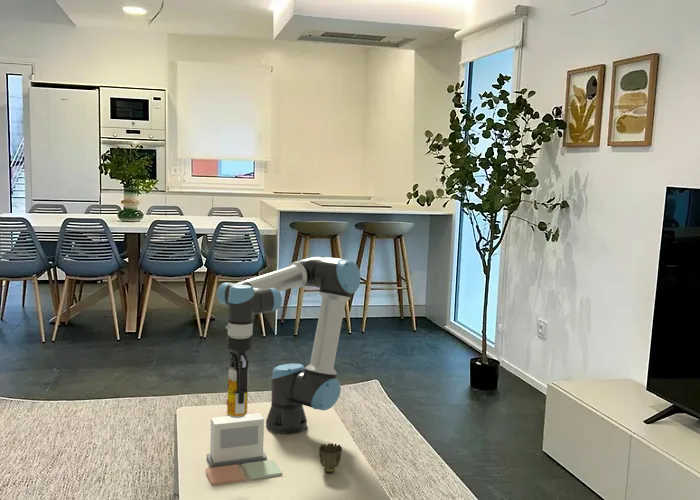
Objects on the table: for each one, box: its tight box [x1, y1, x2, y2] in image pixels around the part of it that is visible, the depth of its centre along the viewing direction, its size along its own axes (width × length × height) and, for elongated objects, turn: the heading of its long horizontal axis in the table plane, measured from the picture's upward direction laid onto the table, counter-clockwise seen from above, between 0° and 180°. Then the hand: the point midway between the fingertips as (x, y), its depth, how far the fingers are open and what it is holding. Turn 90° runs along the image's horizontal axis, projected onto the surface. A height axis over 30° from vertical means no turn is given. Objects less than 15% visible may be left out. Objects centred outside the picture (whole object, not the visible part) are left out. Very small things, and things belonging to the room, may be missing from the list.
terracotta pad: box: [204, 464, 245, 486], centre depth 203 cm, size 10×10×1 cm
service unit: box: [206, 412, 268, 468], centre depth 213 cm, size 18×8×14 cm, turn 113°
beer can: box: [226, 366, 249, 418], centre depth 202 cm, size 6×6×15 cm
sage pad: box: [242, 459, 283, 481], centre depth 207 cm, size 10×10×1 cm
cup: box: [318, 442, 343, 474], centre depth 208 cm, size 8×7×8 cm
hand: (237, 409), depth 203 cm, fingers closed on beer can, 6 cm apart
